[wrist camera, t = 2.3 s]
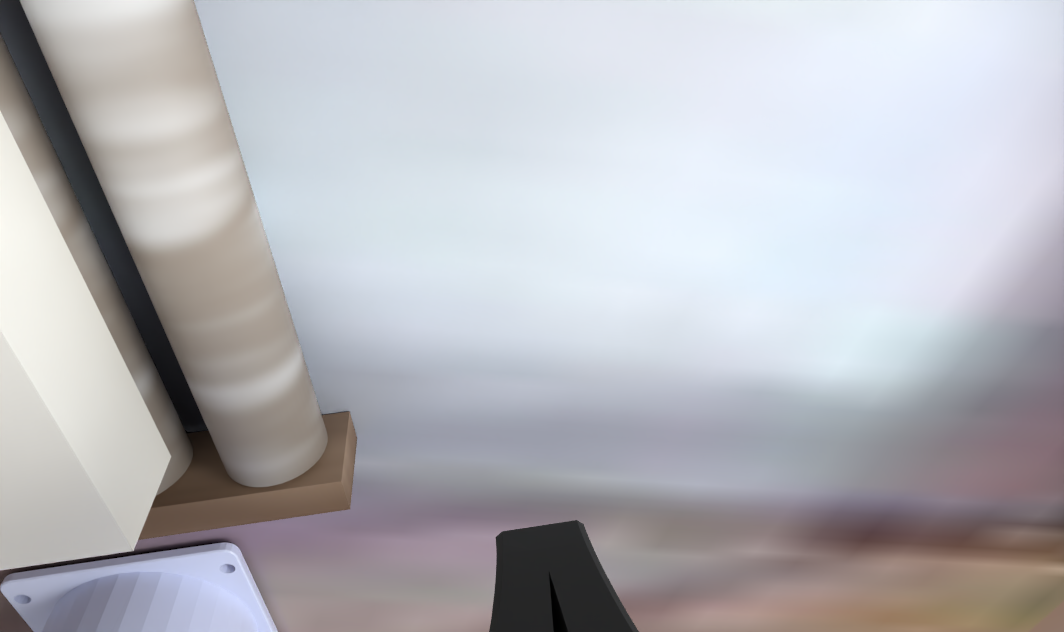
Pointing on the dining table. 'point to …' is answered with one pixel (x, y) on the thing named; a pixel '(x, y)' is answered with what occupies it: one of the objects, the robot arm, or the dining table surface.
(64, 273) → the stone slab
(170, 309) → the roller track
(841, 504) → the dining table surface
